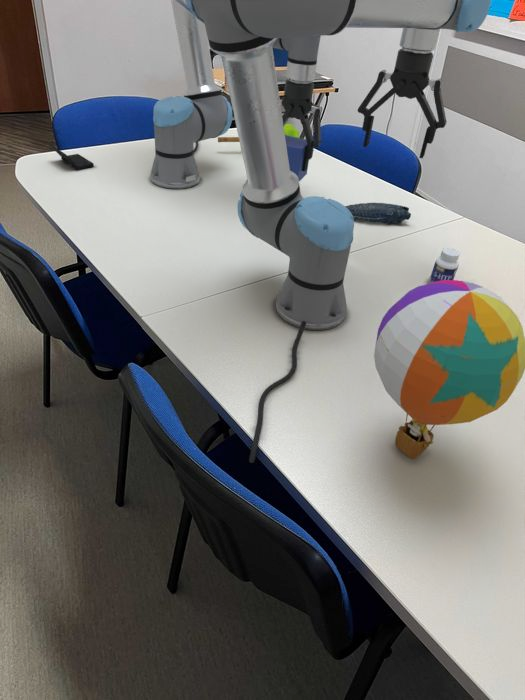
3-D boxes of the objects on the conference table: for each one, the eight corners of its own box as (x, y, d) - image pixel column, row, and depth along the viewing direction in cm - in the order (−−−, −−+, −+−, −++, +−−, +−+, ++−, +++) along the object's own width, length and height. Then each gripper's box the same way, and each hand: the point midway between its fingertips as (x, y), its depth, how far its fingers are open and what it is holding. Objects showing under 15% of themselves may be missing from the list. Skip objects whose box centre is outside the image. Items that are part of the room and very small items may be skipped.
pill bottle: (427, 286, 124) (438, 253, 119) (429, 276, 128) (440, 244, 122) (450, 292, 123) (461, 259, 117) (451, 281, 127) (463, 249, 121)
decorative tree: (215, 117, 188) (295, 117, 193) (215, 147, 195) (292, 146, 200) (221, 131, 174) (307, 131, 180) (221, 163, 181) (304, 161, 186)
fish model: (409, 228, 149) (414, 212, 146) (336, 220, 150) (339, 204, 147) (407, 219, 154) (411, 203, 151) (336, 211, 155) (339, 195, 152)
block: (306, 174, 154) (311, 140, 148) (297, 183, 147) (301, 149, 141) (280, 168, 156) (284, 134, 150) (269, 177, 149) (273, 142, 143)
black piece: (98, 159, 169) (76, 137, 160) (86, 177, 167) (64, 156, 159) (77, 155, 175) (55, 133, 167) (66, 172, 174) (43, 151, 165)
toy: (324, 440, 84) (359, 279, 65) (398, 390, 94) (447, 240, 76) (424, 525, 73) (502, 362, 54) (495, 458, 83) (581, 302, 65)
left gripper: (342, 84, 136) (328, 170, 150) (267, 71, 141) (260, 155, 155) (334, 90, 130) (320, 178, 145) (257, 75, 135) (250, 162, 150)
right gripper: (477, 56, 110) (448, 157, 124) (364, 39, 117) (347, 137, 130) (474, 61, 105) (443, 166, 118) (355, 43, 112) (339, 144, 125)
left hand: (289, 166), depth 150 cm, fingers closed on block, 8 cm apart
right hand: (393, 151), depth 124 cm, fingers open, 13 cm apart
